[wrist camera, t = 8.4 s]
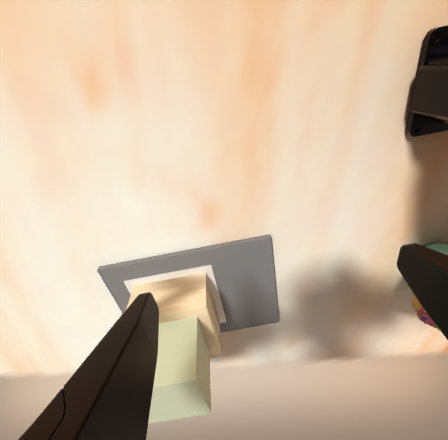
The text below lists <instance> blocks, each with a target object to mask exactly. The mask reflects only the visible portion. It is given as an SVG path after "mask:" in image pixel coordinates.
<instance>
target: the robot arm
mask: <svg viewBox="0 0 448 440" xmlns="http://www.w3.org/2000/svg"><path fill="white" fill-rule="evenodd" d="M435 34H436V39H435V41H434V42H433V37H434V35H435ZM416 126H417V128H416V130H415V131H414V132H413V130H414V128H415V127H416ZM446 130H448V25H447V26H443V27H438V28H434V29H431V30H430V31H429V32H428V33H427V34H426V36H425V38H424V42H423V48H422V53H421V58H420V63H419V68H418V72H417V77H416V82H415V87H414V92H413V97H412V102H411V107H410V113H409V119H408V124H407V129H406V133H407V134H408V135H410V136H413V137H416V136H421V135H426V134H431V133H436V132H441V131H446ZM397 267H398V269H399V271H400V273H401V274H402V276H403V277H404V279H405V280H406V282H407V284H408V285H409V287H410V288H411V290H412V292H413V293H414V295H415V296H416V298H417V300H418V301H419V303H420V304H421V306H422V307H423V308H424V310H425V311H426V313H427V314H428V315H429V316H430V318H431V319H432V320H433V322H434V323H435V324H436V325H437V327H438V328H439V329H440V331H441V332H442V333H443V334H444V336H445V337H446V338H447V340H448V255H446V254H443V253H440V252H438V251H435V250H432V249H430V248H427V247H424V246H422V245H419V244H416V243H412V244H407V245H403V246H402V247H401V248H400V252H399V256H398V260H397ZM158 334H159V308H158V305H157V303H156V301H155V299H154V297H153V295H152V293H151V292H147V293H141V294H139V295H138V296H137V297H136V298H135V300H134V301H133V302H132V303H131V304H130V306H129V307H128V308H127V309H126V311H125V312H124V313H123V314H122V315H121V317H120V318H119V319H118V320H117V322H116V323H115V324H114V325H113V327H112V328H111V329H110V330H109V331H108V333H107V334H106V335H105V336H104V338H103V339H102V340H101V341H100V342H99V344H98V345H97V346H96V347H95V349H94V350H93V351H92V352H91V353H90V355H89V356H88V357H87V358H86V360H85V361H84V362H83V363H82V364H81V366H80V367H79V368H78V369H77V371H76V372H75V373H74V374H73V376H72V377H71V378H70V379H69V380H68V382H67V383H66V384H65V385H64V389H61V390H60V391H59V393H58V394H57V395H56V396H55V398H54V399H53V400H52V401H51V402H50V403H49V405H48V406H47V407H46V408H45V409H44V411H43V412H42V413H41V414H40V416H39V417H38V418H37V419H36V420H35V421H34V422H33V424H32V425H31V426H30V427H29V428H28V429H27V430H26V432H25V433H24V434H23V435H22V436H21V437H20V438H19V439H18V440H146V434H147V428H148V421H149V414H150V406H151V399H152V392H153V385H154V378H155V371H156V364H157V356H158Z"/></svg>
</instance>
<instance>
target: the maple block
mask: <svg viewBox="0 0 448 440" xmlns="http://www.w3.org/2000/svg"><path fill="white" fill-rule="evenodd" d="M147 292H151V293H152V295H153V297H154V299H155V301H156V303H157V305H158V308H159V323H164V322H169V321H175V320H181V319H186V318H192V317H198V320H199V323H200V326H201V329H202V331H203V334H204V337H205V340H206V343H207V345H208V348H209V356H210V357H212V356H218V355H222V352H221V337H220V323H219V317H218V313H217V310H216V306H215V303H214V299H213V296H212V293H211V289H210V286H209V282H208V279H207V276H206V272H205V273H200V274H194V275H189V276H184V277H178V278H173V279H167V280H162V281H157V282H151V283H146V284H140V285H135V286H133V289H132V293H131V296H130V299H129V302H128V305H127V308H128V307H129V306H130V304H131V303H132V302H133V301H134V300H135V298H136V297H137V296H138V295H139V294H141V293H147ZM127 308H126V309H127Z"/></svg>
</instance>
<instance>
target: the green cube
mask: <svg viewBox="0 0 448 440" xmlns="http://www.w3.org/2000/svg"><path fill="white" fill-rule="evenodd" d="M209 413H211V397H210V356H209V348H208V345H207V343H206V340H205V337H204V334H203V331H202V329H201V326H200V323H199V320H198V317H192V318H186V319H181V320H175V321H169V322H164V323H159V334H158V356H157V364H156V371H155V378H154V385H153V392H152V399H151V406H150V414H149V421H148V424H149V423H155V422H161V421H167V420H173V419H179V418H185V417H191V416H197V415H203V414H209Z"/></svg>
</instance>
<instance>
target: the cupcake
mask: <svg viewBox="0 0 448 440" xmlns="http://www.w3.org/2000/svg"><path fill="white" fill-rule="evenodd" d="M425 247H427V248H430V249H432V250H435V251H438V252H440V253H443V254H446V255H448V245H446V244H442V243H435V244H430V245H427V246H425ZM412 304H413V306H414V308H415V309H416V311H417V316H418V317H419V319H420V320H421V321H423V322H424V323H425V324H428V325H430V326H433V327H434V328H437V329H438V330H439V328H438V327H437V325H436V324H435V323H434V322H433V320H432V319H431V318H430V316H429V315H428V314H427V313H426V311H425V310H424V308H423V307H422V306H421V304H420V303H419V301H418V300H417V298H416V296H415V295H414V298H413V300H412Z"/></svg>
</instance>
